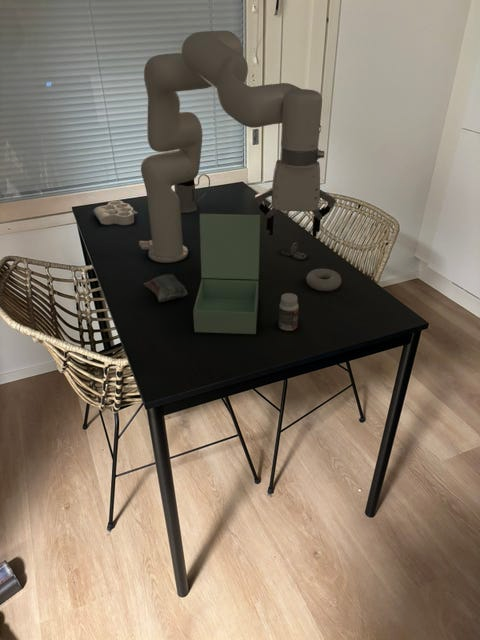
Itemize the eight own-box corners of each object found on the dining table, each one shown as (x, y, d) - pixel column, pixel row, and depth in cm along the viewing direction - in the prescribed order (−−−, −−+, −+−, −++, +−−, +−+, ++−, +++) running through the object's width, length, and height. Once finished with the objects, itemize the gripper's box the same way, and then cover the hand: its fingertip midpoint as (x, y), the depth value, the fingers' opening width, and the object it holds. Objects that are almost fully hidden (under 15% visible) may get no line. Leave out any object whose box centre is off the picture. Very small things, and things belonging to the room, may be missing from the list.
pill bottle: (296, 332, 122) (298, 303, 117) (277, 330, 123) (278, 301, 118) (298, 321, 126) (300, 293, 121) (279, 319, 126) (281, 291, 122)
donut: (299, 281, 144) (319, 296, 136) (299, 271, 142) (320, 285, 134) (327, 274, 148) (348, 288, 140) (328, 263, 146) (349, 277, 138)
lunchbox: (255, 334, 121) (256, 313, 118) (194, 332, 122) (193, 311, 119) (258, 300, 135) (258, 280, 131) (202, 298, 135) (201, 278, 132)
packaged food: (159, 309, 131) (157, 292, 128) (143, 289, 139) (142, 274, 137) (189, 301, 134) (188, 285, 132) (172, 282, 143) (171, 267, 140)
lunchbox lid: (260, 215, 123) (260, 211, 127) (199, 214, 124) (201, 209, 128) (258, 279, 131) (259, 273, 135) (201, 278, 132) (203, 271, 136)
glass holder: (177, 204, 197) (175, 166, 189) (212, 206, 196) (211, 167, 188) (172, 212, 190) (169, 173, 182) (208, 214, 188) (207, 174, 180)
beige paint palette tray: (92, 212, 189) (129, 206, 195) (103, 229, 176) (143, 222, 182) (90, 204, 188) (128, 198, 193) (102, 220, 174) (142, 213, 180)
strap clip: (307, 257, 157) (308, 245, 155) (302, 260, 155) (303, 248, 153) (285, 250, 162) (286, 238, 159) (279, 253, 160) (280, 241, 157)
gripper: (339, 152, 104) (329, 228, 114) (256, 150, 105) (254, 225, 114) (343, 162, 98) (332, 242, 107) (255, 160, 99) (253, 239, 108)
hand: (292, 233), depth 111 cm, fingers open, 9 cm apart
